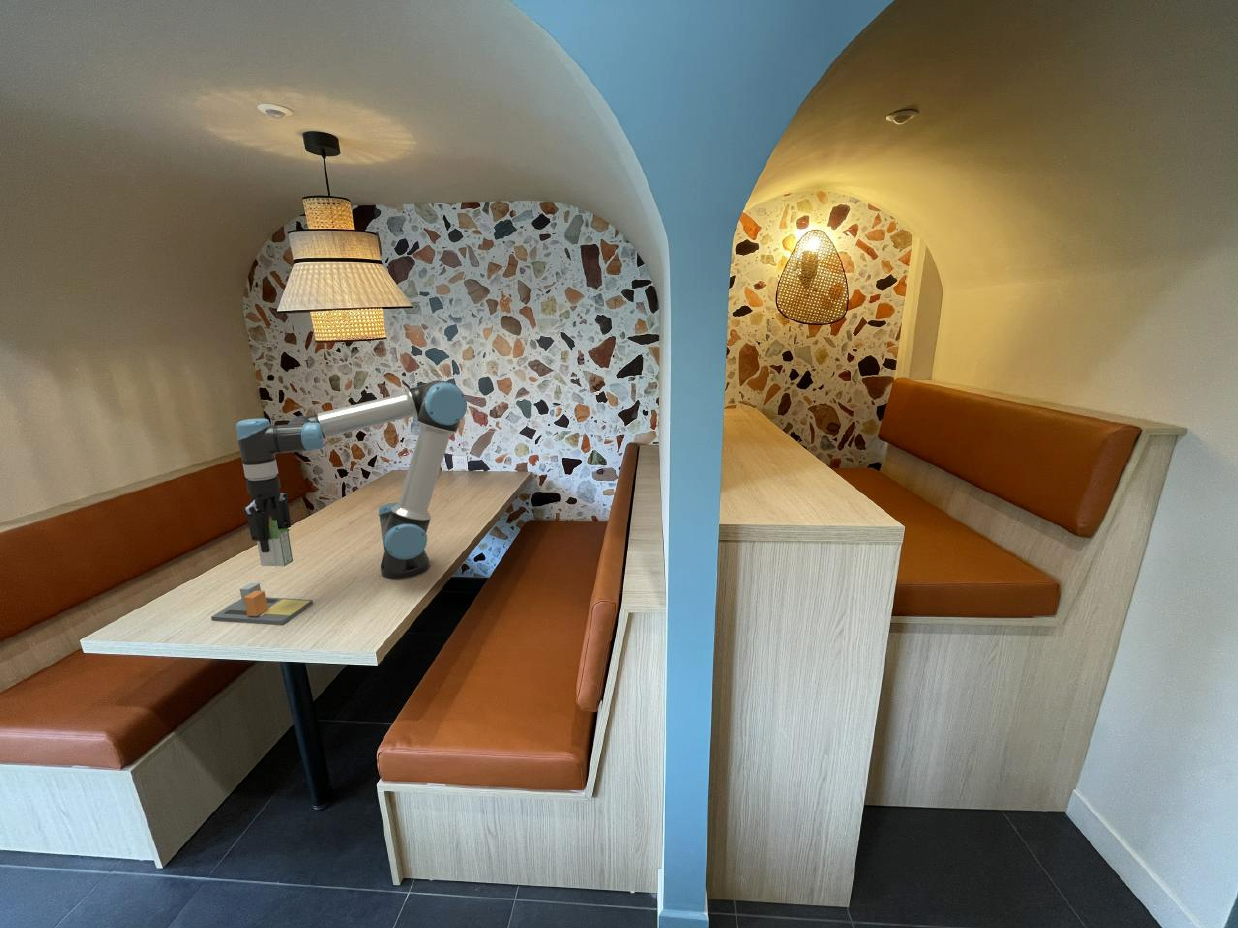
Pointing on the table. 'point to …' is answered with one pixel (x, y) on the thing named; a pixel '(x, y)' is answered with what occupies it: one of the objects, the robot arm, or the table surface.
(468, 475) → the table surface
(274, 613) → the pad
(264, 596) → the lever
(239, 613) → the panel
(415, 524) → the robot arm
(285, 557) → the ink box
